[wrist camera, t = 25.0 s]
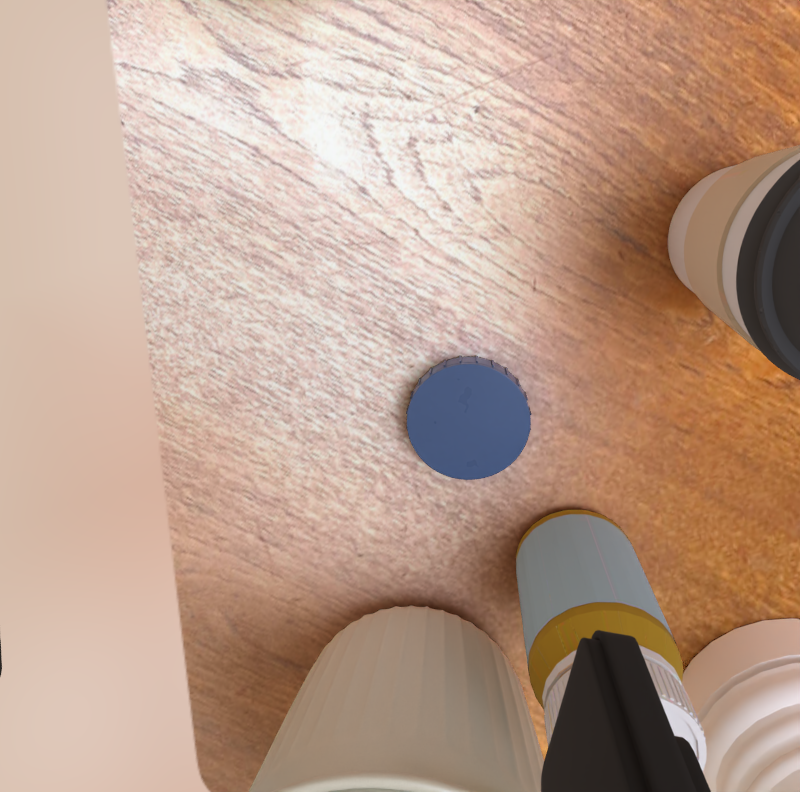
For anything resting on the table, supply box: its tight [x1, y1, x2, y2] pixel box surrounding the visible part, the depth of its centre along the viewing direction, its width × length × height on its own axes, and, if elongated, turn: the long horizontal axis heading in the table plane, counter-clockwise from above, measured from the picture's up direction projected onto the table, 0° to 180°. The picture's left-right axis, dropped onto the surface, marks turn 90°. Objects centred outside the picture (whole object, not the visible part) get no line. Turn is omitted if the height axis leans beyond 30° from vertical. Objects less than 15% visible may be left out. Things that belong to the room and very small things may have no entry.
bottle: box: [516, 510, 707, 771], centre depth 34 cm, size 7×7×15 cm
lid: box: [406, 356, 531, 480], centre depth 38 cm, size 7×7×2 cm
